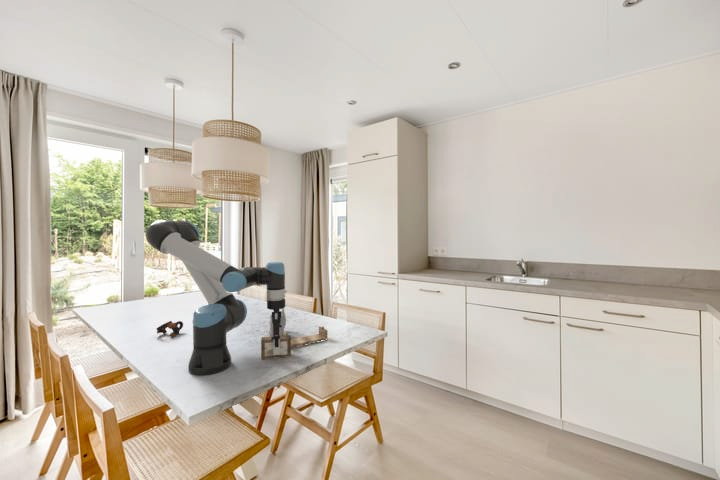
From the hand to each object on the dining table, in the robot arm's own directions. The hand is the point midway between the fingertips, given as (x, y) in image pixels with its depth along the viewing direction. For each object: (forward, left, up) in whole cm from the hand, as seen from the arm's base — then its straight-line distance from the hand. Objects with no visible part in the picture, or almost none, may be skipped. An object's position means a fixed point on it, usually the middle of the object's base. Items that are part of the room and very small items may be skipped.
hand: (277, 348), depth 132 cm
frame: (0, 0, -3) cm, 3 cm away
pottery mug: (-36, +56, -4) cm, 67 cm away
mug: (+11, +28, -4) cm, 30 cm away
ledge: (+17, +8, -3) cm, 19 cm away
